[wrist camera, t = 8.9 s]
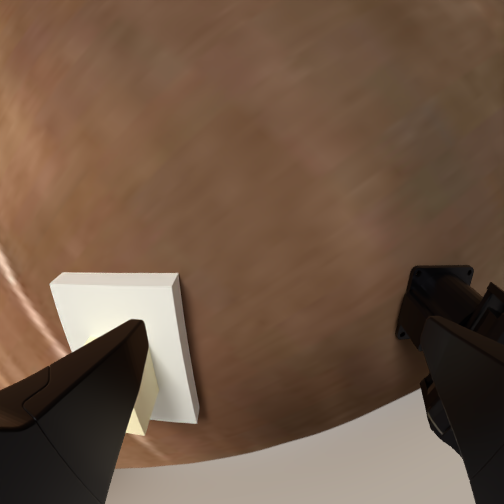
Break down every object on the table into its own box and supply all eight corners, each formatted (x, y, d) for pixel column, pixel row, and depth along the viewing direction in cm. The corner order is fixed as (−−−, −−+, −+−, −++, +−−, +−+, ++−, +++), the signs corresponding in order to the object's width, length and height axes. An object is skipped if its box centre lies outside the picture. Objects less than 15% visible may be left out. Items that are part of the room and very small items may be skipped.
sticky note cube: (148, 342, 21) (127, 389, 16) (159, 389, 23) (144, 435, 18) (90, 336, 21) (62, 377, 16) (105, 382, 23) (85, 423, 18)
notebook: (179, 270, 22) (171, 286, 19) (200, 404, 27) (197, 423, 24) (65, 270, 22) (49, 283, 19) (106, 394, 27) (98, 411, 24)
